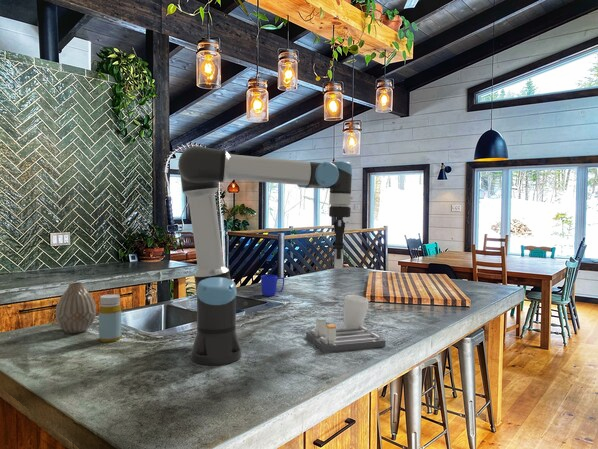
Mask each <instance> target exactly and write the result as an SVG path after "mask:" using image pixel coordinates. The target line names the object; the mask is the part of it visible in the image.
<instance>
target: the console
mask: <svg viewBox="0 0 598 449" xmlns="http://www.w3.org/2000/svg"><path fill="white" fill-rule="evenodd" d="M305 334H306V335H305V336H306V339H308V340H309V341H310V342H311V343H312V344H313V345H315V346H316V348H318V349H319V350H320V351H321V352H322V353H331V352H344V351H354V350H363V349H373V348H383V347H386V339H383V338H382V337H381V336H380V335H378V334H376V333H374V332H372V331H370V330H369V329H368V328H366V327H364V326H359V327H353V328H343V327H341V328H336V341H335V342H328V341H327V340H326V334H318V333H317V332H316V330H315V329H311V330H308V331H306V333H305Z"/></svg>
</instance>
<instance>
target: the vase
mask: <svg viewBox="0 0 598 449" xmlns="http://www.w3.org/2000/svg"><path fill="white" fill-rule="evenodd" d="M96 316H97V306H96V302H95V299H94V298H93V296H92V294H90V293H89V291H88V290H87V289H86V288H85V287H84V284H83V282H81V281H80V282H79V281H74V282H70V283H68V287H67V289H66V290H65V291H64V292H63V294H62V295H61V297H60V298H59V299H58V301H57V304H56V308H55V319H56V323H57V325H58V326H59V327H60V329H61V330H62V331H64V332H65V333H66V334H79V333H80V334H81V333H83V332H86V331H87V330H88V329H89V328H91V326H92V325H93V324H94V322H95V319H96Z"/></svg>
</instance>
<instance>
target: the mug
mask: <svg viewBox="0 0 598 449" xmlns="http://www.w3.org/2000/svg"><path fill="white" fill-rule="evenodd" d="M278 280H282V287H281V289H280V290H277V286H278V285H277V284H278ZM260 283H261V284H260V285H261V294H262V296H265V297H273V296H276V293H282V292H283V290H284V286H285V277H280V276H279V277H278V276H277V275H275V274H263V275H260Z"/></svg>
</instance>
